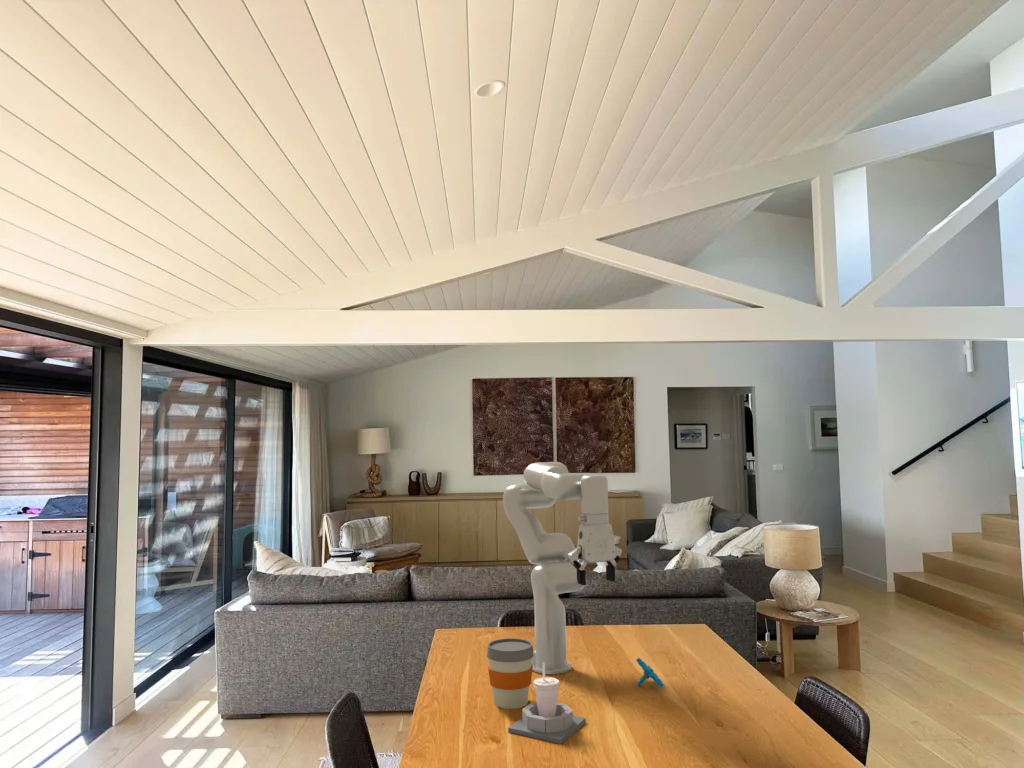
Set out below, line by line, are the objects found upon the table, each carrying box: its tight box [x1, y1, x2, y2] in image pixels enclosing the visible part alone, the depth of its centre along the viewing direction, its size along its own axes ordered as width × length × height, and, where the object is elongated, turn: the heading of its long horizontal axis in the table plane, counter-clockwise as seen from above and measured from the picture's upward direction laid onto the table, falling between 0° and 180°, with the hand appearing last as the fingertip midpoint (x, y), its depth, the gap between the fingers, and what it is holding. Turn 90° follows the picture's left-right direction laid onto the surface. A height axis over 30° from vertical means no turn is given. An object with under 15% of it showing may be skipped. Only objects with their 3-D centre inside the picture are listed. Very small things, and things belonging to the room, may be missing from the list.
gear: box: [635, 657, 665, 688], centre depth 198 cm, size 11×6×10 cm
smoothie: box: [533, 663, 560, 717], centre depth 171 cm, size 6×6×14 cm
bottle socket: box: [507, 701, 587, 745], centre depth 170 cm, size 14×14×4 cm
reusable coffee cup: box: [486, 637, 534, 710], centre depth 187 cm, size 13×12×15 cm
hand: (596, 582), depth 193 cm, fingers open, 9 cm apart
